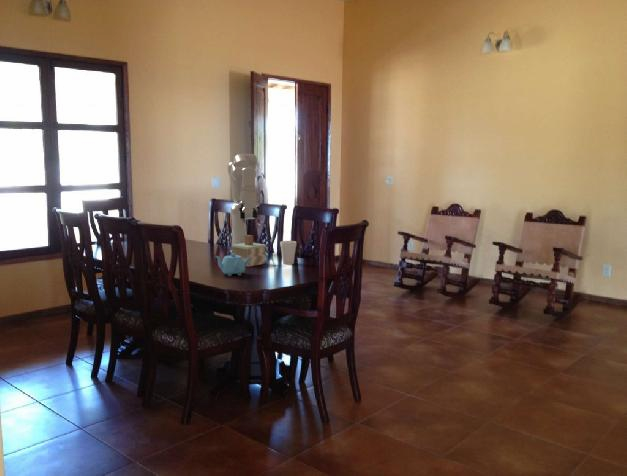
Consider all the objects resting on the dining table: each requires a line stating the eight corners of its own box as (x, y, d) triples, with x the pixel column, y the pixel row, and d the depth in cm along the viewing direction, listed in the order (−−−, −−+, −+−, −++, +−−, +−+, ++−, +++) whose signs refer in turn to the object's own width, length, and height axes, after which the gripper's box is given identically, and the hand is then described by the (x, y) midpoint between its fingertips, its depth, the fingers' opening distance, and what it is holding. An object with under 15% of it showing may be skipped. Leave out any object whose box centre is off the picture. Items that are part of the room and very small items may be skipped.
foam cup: (298, 262, 325) (298, 241, 323) (291, 265, 317) (291, 243, 315) (284, 261, 329) (284, 240, 327) (277, 264, 321) (277, 242, 319)
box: (249, 260, 331) (249, 244, 330) (265, 263, 323) (265, 246, 321) (232, 263, 321) (232, 246, 320) (248, 266, 312) (248, 249, 311)
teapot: (236, 278, 280) (236, 256, 278) (214, 275, 285) (214, 254, 284) (251, 273, 294) (251, 252, 292) (230, 270, 299) (230, 250, 298)
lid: (249, 245, 331) (249, 233, 330) (266, 248, 321) (266, 235, 320) (231, 248, 320) (231, 235, 319) (248, 251, 310) (248, 237, 309)
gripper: (254, 188, 325) (255, 217, 327) (232, 189, 312) (233, 218, 314) (263, 188, 320) (263, 217, 322) (241, 189, 307) (242, 219, 309)
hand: (248, 218), depth 318 cm, fingers open, 9 cm apart
